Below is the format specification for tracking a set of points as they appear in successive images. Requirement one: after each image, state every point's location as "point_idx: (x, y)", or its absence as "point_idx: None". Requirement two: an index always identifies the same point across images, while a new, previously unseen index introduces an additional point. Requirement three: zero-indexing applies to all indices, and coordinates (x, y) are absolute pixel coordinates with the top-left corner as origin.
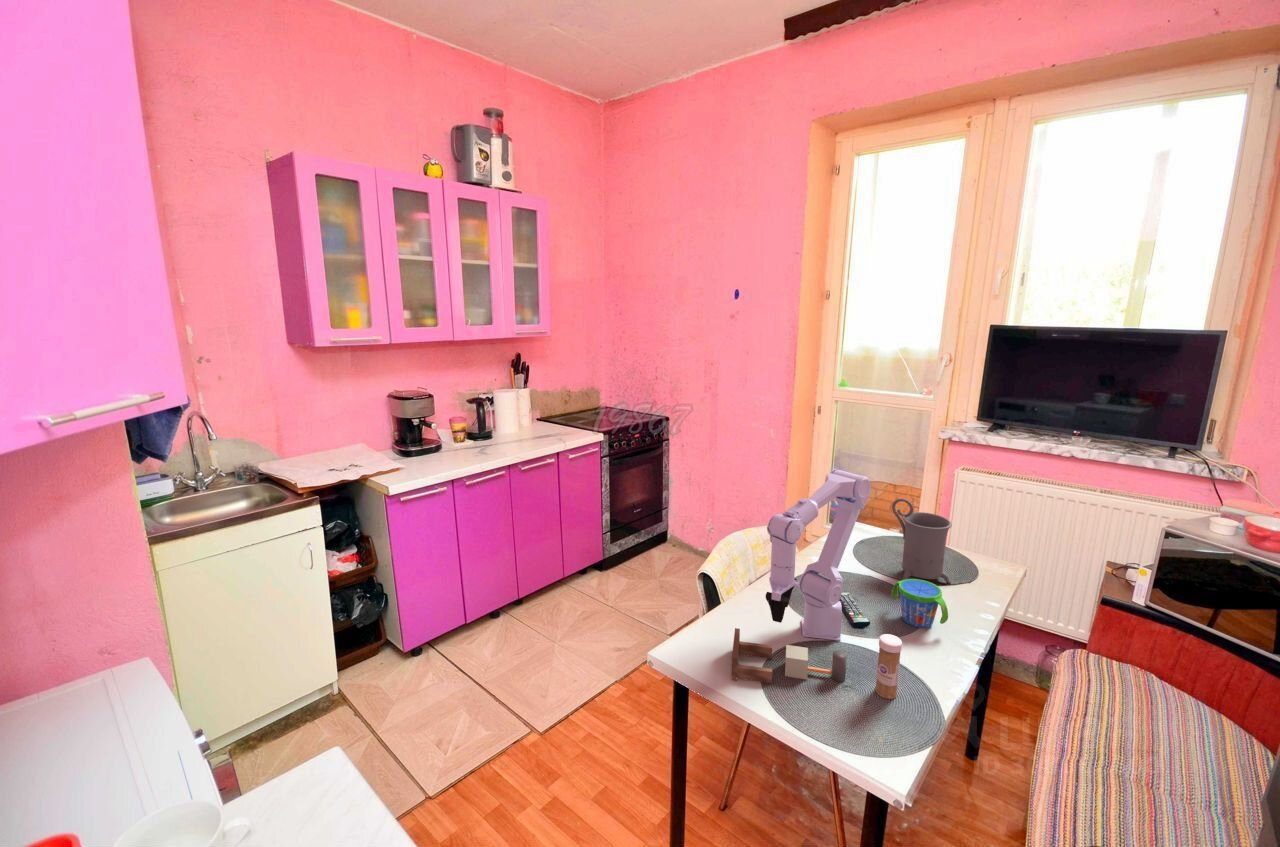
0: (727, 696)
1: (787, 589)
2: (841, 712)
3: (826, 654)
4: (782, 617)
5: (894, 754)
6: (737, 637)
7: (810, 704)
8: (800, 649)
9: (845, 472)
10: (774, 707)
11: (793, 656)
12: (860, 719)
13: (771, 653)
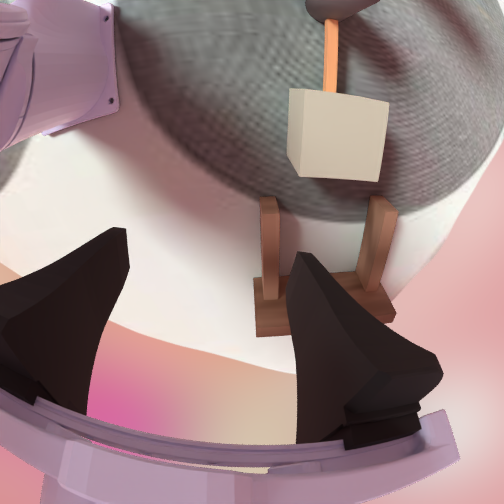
0: (412, 277)
1: (373, 477)
2: (449, 49)
3: (200, 27)
4: (327, 272)
5: (501, 14)
6: None
7: (439, 111)
8: (322, 120)
9: None
10: (446, 193)
11: (372, 153)
12: (456, 20)
13: (277, 205)
